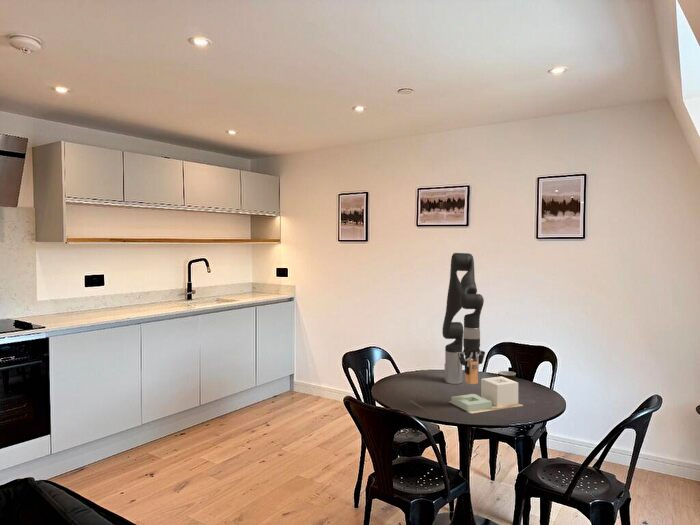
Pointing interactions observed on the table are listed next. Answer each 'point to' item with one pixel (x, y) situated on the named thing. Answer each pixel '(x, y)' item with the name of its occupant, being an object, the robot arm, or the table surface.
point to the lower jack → (471, 402)
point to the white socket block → (499, 391)
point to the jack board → (494, 408)
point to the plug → (472, 373)
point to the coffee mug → (507, 375)
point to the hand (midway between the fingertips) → (471, 373)
